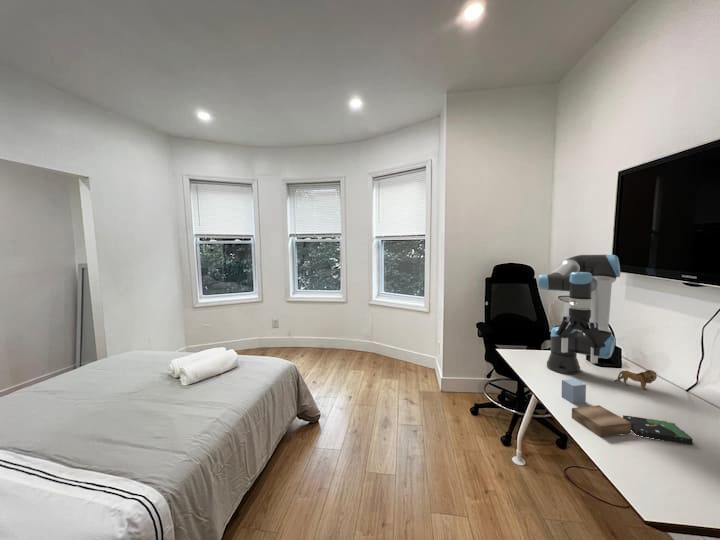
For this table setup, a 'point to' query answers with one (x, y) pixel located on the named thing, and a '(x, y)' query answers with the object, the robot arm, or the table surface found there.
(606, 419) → the walnut base
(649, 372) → the lion figurine
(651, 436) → the disk drive
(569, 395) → the slate block
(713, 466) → the table surface
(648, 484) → the table surface
